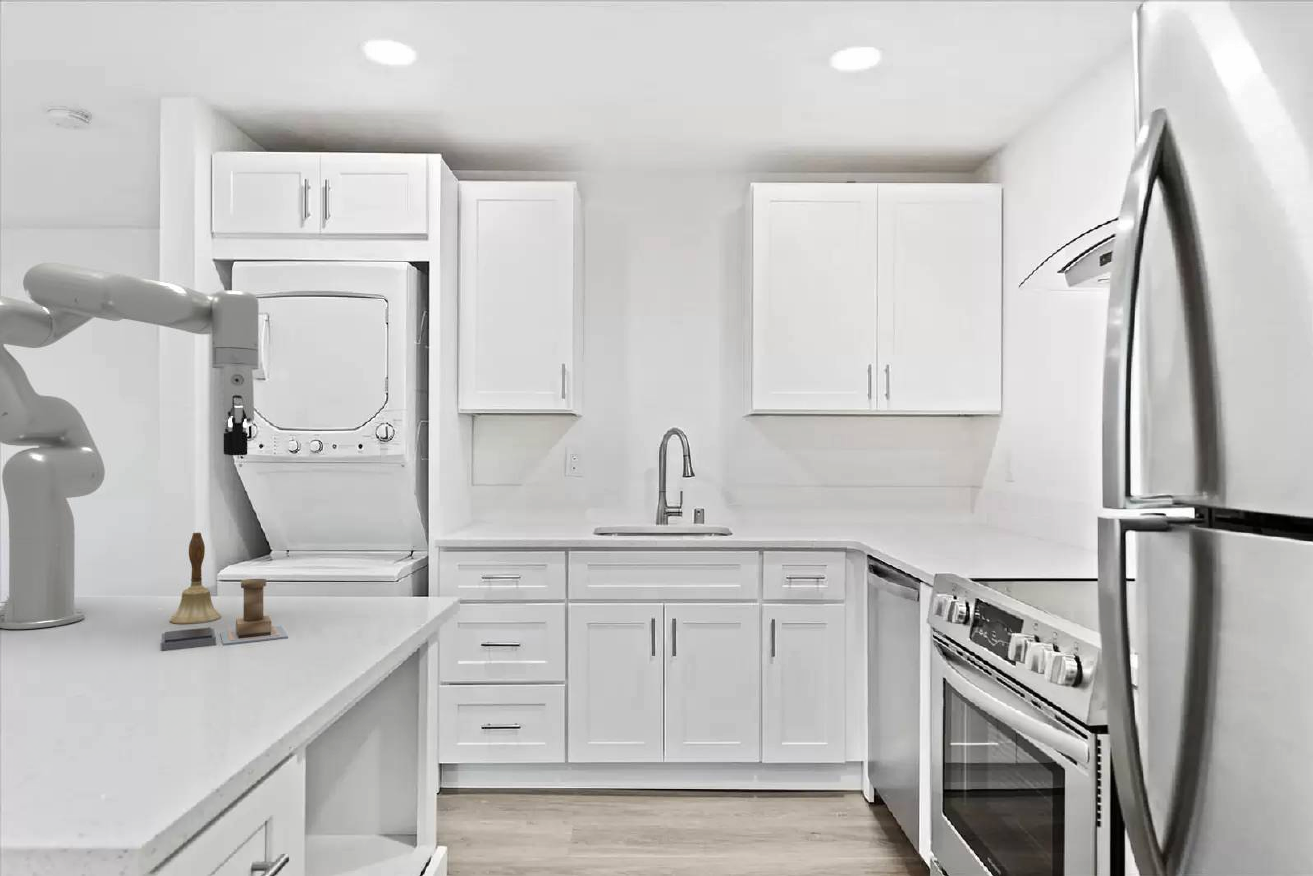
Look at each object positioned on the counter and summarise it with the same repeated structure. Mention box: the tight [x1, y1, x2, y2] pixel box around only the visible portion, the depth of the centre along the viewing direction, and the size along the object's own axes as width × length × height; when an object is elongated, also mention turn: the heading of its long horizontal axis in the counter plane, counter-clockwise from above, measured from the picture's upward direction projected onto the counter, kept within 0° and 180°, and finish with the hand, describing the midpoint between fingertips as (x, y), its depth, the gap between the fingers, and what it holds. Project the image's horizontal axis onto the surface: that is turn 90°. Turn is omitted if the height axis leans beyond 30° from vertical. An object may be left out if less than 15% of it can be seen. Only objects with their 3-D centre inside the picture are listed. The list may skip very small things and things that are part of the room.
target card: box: [219, 625, 289, 646], centre depth 139 cm, size 10×10×1 cm
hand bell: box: [169, 532, 222, 625], centre depth 152 cm, size 8×8×16 cm
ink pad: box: [160, 627, 217, 651], centre depth 134 cm, size 8×8×2 cm
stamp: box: [235, 578, 272, 639], centre depth 139 cm, size 5×5×9 cm
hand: (235, 454), depth 149 cm, fingers open, 9 cm apart
